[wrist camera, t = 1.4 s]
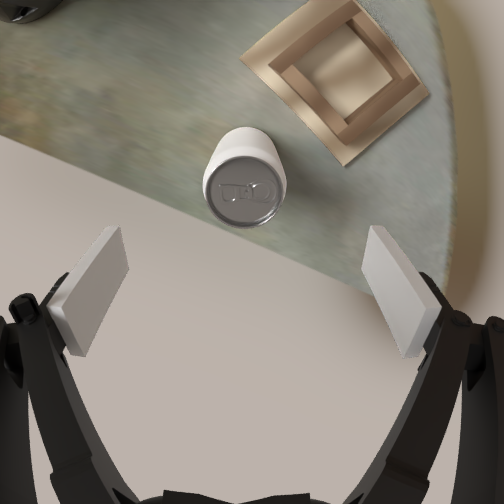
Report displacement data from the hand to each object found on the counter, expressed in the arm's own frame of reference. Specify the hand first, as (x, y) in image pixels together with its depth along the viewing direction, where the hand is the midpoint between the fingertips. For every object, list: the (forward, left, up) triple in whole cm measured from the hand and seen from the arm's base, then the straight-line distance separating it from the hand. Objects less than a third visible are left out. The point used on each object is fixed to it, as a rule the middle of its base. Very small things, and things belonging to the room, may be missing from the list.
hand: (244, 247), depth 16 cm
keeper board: (0, +14, -19) cm, 24 cm away
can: (0, 0, -19) cm, 19 cm away
